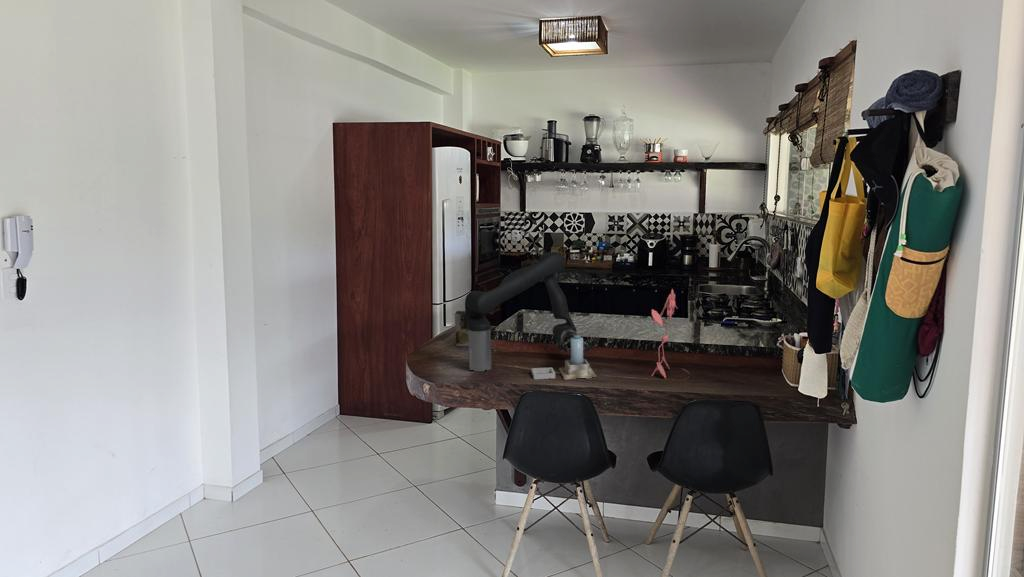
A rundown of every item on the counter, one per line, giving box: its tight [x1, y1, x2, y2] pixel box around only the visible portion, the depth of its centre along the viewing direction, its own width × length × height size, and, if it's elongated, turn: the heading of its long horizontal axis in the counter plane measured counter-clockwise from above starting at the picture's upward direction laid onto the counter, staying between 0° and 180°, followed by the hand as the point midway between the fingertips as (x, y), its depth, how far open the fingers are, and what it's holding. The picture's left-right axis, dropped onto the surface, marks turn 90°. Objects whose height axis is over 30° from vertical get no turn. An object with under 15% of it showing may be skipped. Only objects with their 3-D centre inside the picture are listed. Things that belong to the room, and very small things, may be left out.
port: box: [558, 358, 597, 380], centre depth 290 cm, size 13×13×5 cm
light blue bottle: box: [570, 334, 584, 365], centre depth 289 cm, size 5×5×15 cm
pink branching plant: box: [646, 288, 690, 381], centre depth 284 cm, size 15×26×35 cm, turn 157°
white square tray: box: [531, 367, 556, 380], centre depth 289 cm, size 9×9×2 cm
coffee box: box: [454, 310, 469, 347], centre depth 341 cm, size 9×6×16 cm
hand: (577, 349), depth 288 cm, fingers open, 8 cm apart
